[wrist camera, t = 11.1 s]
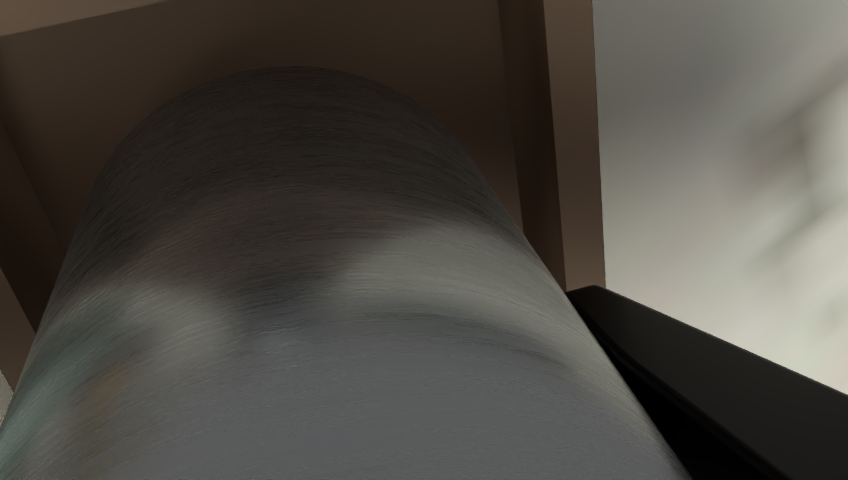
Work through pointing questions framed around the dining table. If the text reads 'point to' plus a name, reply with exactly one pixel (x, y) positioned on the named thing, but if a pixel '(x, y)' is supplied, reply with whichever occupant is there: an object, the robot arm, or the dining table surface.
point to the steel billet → (312, 309)
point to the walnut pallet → (292, 46)
